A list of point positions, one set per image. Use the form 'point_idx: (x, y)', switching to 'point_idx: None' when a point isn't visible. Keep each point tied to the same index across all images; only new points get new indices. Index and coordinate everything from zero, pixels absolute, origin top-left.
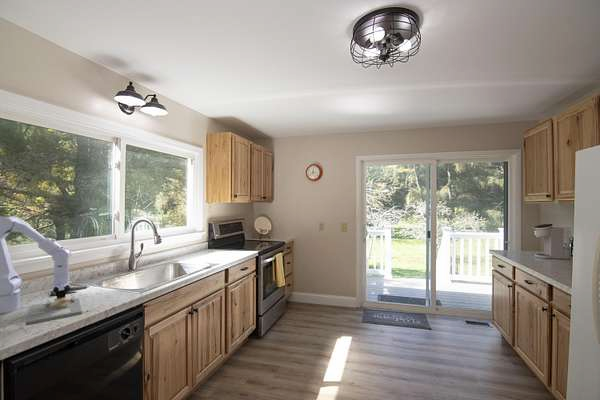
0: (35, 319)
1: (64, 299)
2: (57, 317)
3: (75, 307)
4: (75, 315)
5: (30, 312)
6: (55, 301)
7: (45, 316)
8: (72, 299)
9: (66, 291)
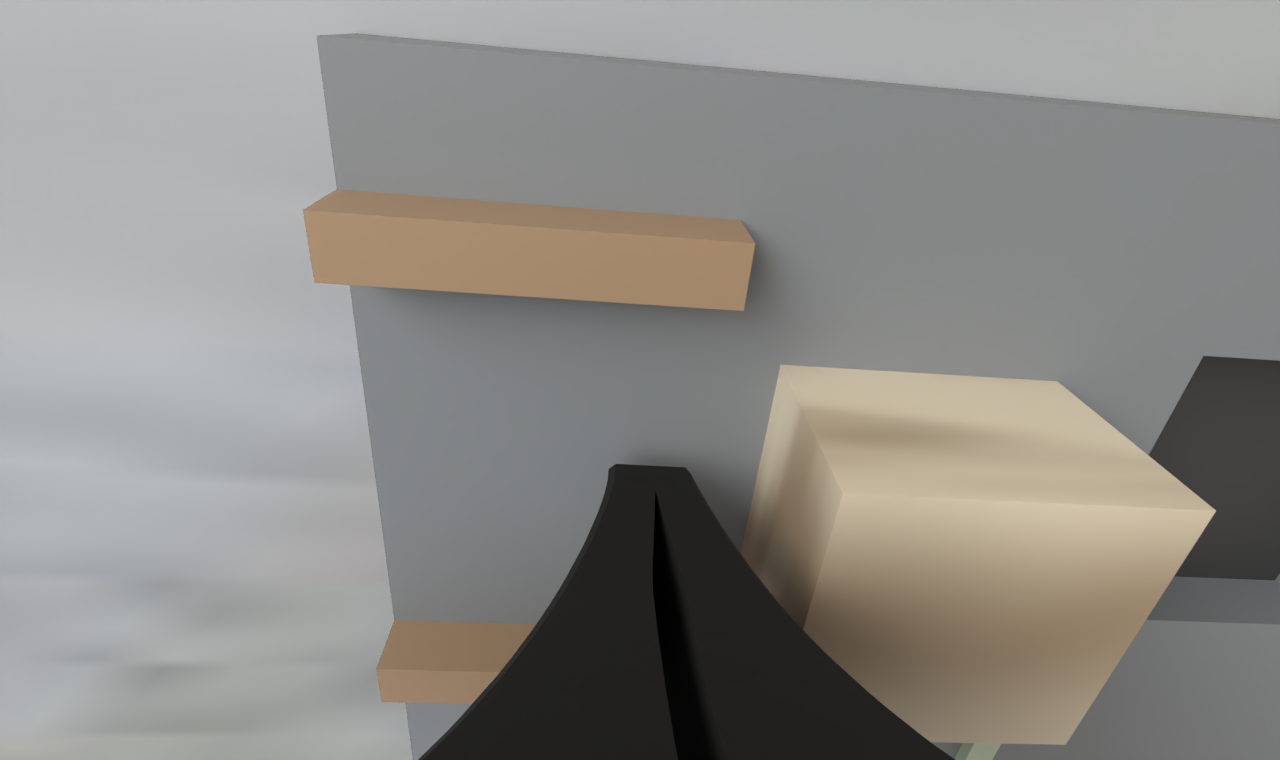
0: (1249, 755)
1: (1118, 588)
2: None
3: None
4: None
5: None
6: (1072, 727)
7: (1260, 679)
8: (698, 289)
9: (889, 714)
